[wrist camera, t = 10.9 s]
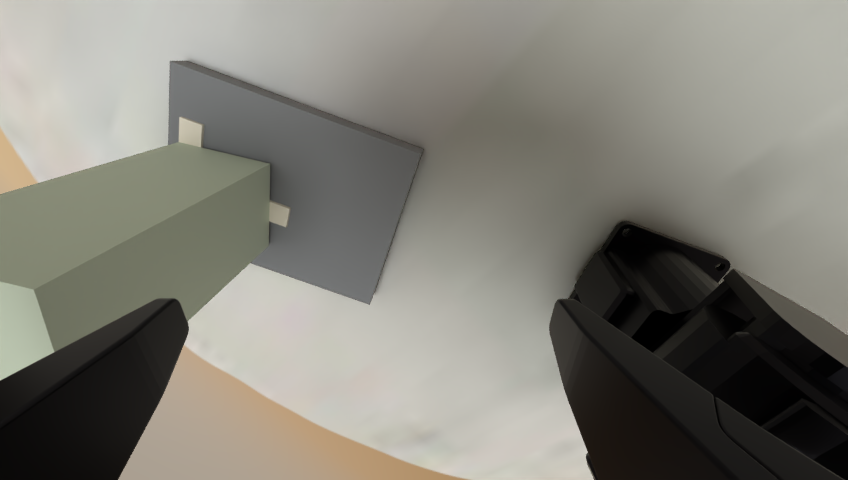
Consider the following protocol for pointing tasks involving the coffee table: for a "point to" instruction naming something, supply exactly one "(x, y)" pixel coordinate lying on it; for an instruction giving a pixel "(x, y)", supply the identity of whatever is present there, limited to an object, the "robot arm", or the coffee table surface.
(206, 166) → the sage block
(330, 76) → the coffee table surface
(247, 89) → the board
